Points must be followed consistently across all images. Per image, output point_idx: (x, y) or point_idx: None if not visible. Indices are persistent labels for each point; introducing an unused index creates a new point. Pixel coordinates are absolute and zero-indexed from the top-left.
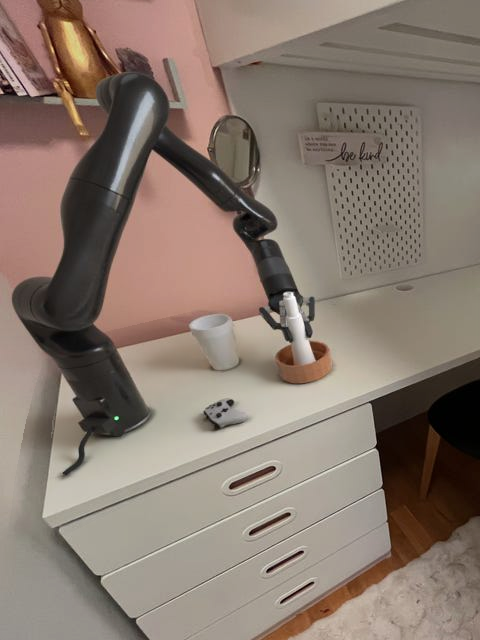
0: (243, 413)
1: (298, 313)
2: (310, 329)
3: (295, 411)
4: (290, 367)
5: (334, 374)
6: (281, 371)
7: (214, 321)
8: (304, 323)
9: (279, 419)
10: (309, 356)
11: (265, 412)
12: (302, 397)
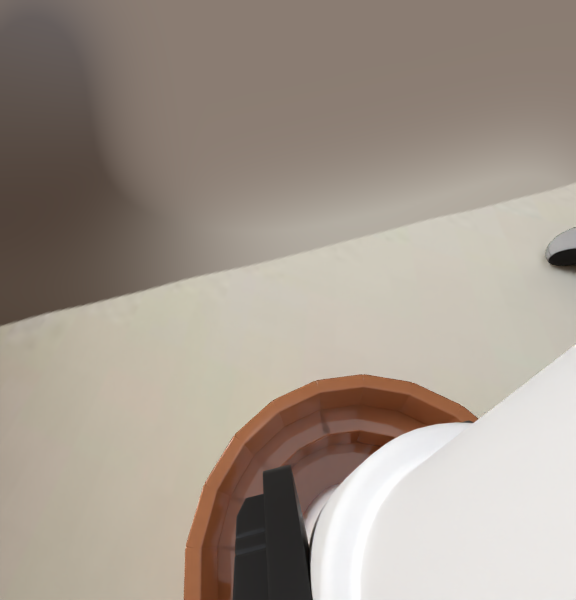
0: (564, 241)
1: (371, 534)
2: (253, 533)
3: (389, 258)
4: (435, 395)
5: None
6: None
7: None
8: (303, 591)
9: (435, 238)
10: (327, 498)
11: (493, 281)
12: (371, 323)
